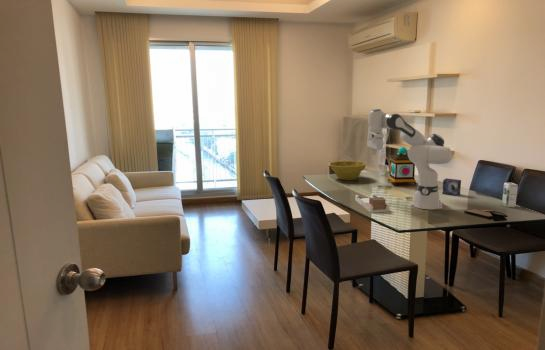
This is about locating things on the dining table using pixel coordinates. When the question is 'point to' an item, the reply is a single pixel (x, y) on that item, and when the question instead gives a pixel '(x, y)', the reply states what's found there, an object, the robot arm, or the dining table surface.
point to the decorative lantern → (401, 168)
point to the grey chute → (369, 207)
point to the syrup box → (509, 194)
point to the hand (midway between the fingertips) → (374, 154)
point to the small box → (451, 187)
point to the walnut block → (377, 202)
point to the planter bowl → (347, 169)
